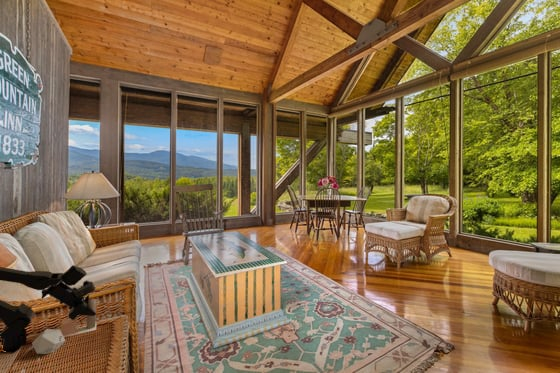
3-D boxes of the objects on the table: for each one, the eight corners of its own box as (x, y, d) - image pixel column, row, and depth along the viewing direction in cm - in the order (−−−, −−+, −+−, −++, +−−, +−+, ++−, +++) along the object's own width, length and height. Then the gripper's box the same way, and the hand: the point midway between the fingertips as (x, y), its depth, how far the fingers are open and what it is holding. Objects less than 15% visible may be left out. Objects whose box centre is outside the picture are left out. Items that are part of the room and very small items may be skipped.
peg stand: (56, 341, 101) (58, 309, 101) (59, 332, 107) (60, 302, 107) (96, 331, 109) (97, 302, 109) (96, 324, 115) (97, 296, 114)
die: (35, 365, 89) (58, 339, 92) (19, 349, 90) (43, 324, 93) (54, 358, 97) (75, 334, 100) (39, 343, 98) (61, 320, 101)
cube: (60, 336, 103) (61, 324, 103) (62, 330, 107) (62, 319, 107) (75, 333, 106) (76, 321, 106) (76, 327, 110) (77, 316, 110)
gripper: (80, 285, 101) (111, 306, 107) (83, 271, 116) (110, 290, 122) (53, 309, 96) (87, 329, 102) (60, 291, 111) (89, 309, 118)
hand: (95, 312), depth 111 cm, fingers closed on peg stand, 3 cm apart
